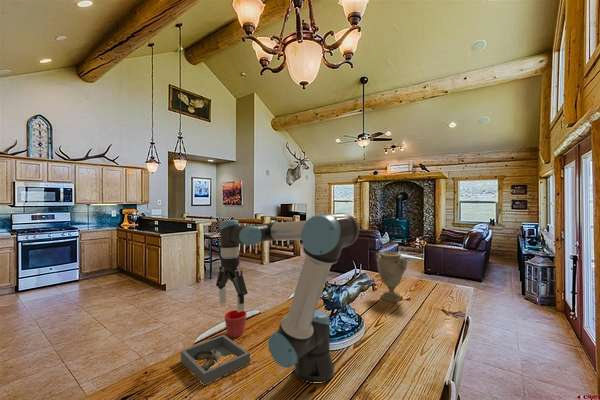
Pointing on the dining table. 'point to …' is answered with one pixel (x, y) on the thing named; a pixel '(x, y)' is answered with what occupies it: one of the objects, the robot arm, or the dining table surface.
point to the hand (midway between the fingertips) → (231, 307)
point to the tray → (218, 344)
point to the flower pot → (235, 323)
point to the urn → (391, 273)
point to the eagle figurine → (208, 358)
